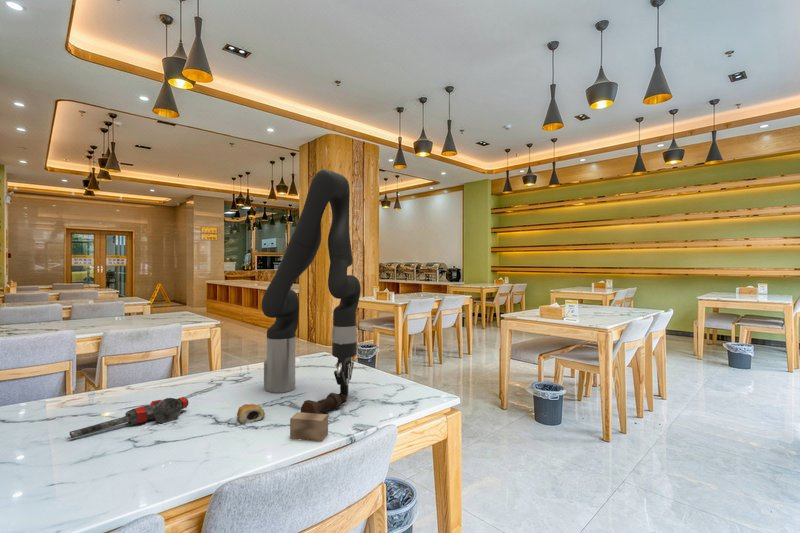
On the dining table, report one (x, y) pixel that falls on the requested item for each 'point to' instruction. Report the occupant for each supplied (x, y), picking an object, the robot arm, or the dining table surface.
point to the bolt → (324, 404)
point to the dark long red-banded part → (142, 415)
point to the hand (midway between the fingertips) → (344, 396)
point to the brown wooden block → (309, 426)
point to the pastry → (250, 413)
